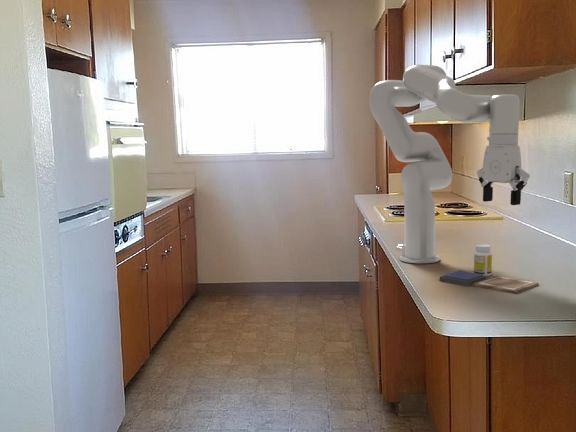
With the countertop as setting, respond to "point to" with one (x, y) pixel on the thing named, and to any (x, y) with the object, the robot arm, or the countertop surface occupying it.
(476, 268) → the supplement bottle
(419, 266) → the countertop surface
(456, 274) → the ink pad
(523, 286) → the marked board
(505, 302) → the countertop surface
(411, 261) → the robot arm
